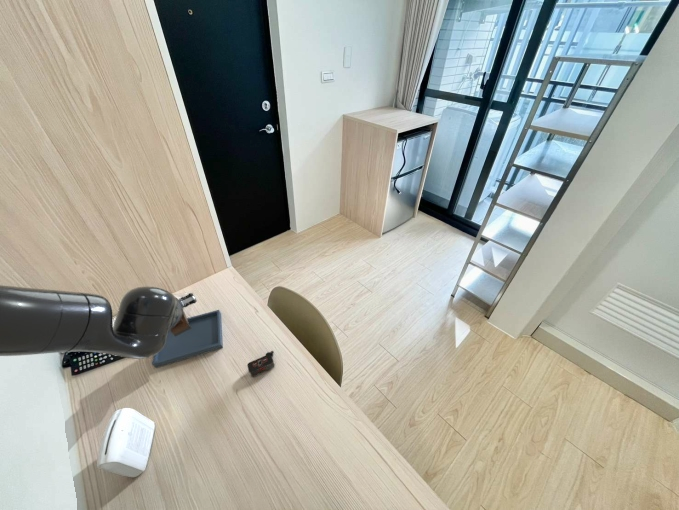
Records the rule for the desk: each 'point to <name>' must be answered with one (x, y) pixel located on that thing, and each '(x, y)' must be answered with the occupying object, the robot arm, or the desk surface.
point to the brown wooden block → (181, 326)
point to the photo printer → (126, 443)
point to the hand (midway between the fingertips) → (170, 308)
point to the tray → (192, 340)
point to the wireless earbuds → (261, 364)
